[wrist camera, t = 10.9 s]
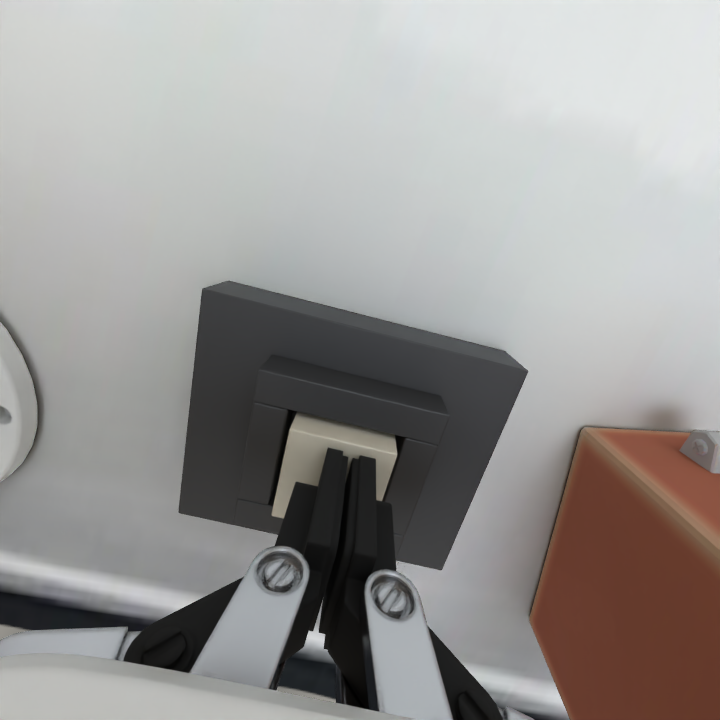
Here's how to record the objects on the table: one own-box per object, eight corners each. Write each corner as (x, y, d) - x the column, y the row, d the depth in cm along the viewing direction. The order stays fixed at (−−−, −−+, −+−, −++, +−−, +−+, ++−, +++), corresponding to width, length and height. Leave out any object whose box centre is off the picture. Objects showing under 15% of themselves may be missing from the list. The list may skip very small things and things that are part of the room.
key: (284, 479, 15) (270, 516, 13) (301, 401, 13) (289, 428, 11) (369, 498, 15) (369, 538, 13) (394, 423, 14) (397, 454, 12)
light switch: (202, 478, 18) (157, 543, 14) (227, 280, 15) (178, 295, 11) (433, 530, 19) (449, 605, 15) (505, 351, 15) (550, 388, 12)
